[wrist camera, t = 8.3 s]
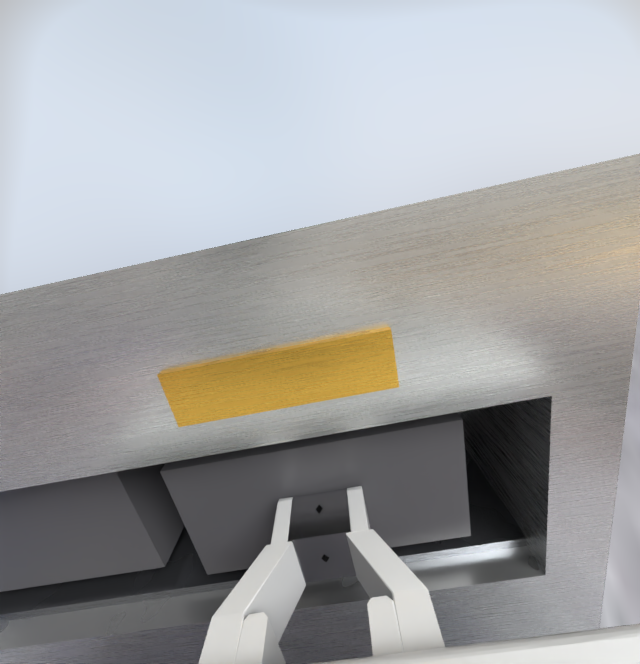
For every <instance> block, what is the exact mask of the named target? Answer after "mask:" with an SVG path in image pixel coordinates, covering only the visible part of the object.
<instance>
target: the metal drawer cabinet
mask: <svg viewBox="0 0 640 664" xmlns="http://www.w3.org/2000/svg"><path fill="white" fill-rule="evenodd" d="M639 304H640V154H636V155H632V156H627V157H623V158H619V159H614V160H609V161H605V162H600V163H596V164H591V165H586V166H582V167H577V168H573V169H569V170H564V171H559V172H555V173H550V174H546V175H541V176H536V177H532V178H527V179H523V180H518V181H514V182H509V183H505V184H500V185H496V186H491V187H486V188H482V189H477V190H473V191H468V192H464V193H459V194H455V195H451V196H446V197H441V198H437V199H432V200H427V201H423V202H418V203H414V204H409V205H405V206H401V207H396V208H392V209H387V210H382V211H378V212H373V213H369V214H364V215H359V216H355V217H351V218H346V219H341V220H337V221H333V222H328V223H323V224H319V225H314V226H310V227H305V228H300V229H297V230H291V231H287V232H283V233H278V234H273V235H269V236H264V237H260V238H255V239H250V240H246V241H241V242H237V243H232V244H228V245H223V246H219V247H214V248H210V249H205V250H201V251H196V252H192V253H187V254H182V255H178V256H174V257H169V258H164V259H160V260H155V261H151V262H146V263H142V264H138V265H132V266H128V267H123V268H119V269H115V270H110V271H105V272H101V273H96V274H92V275H87V276H83V277H78V278H73V279H69V280H64V281H60V282H55V283H51V284H46V285H42V286H37V287H33V288H28V289H24V290H19V291H14V292H11V293H5V294H1V295H0V492H3V491H8V490H14V489H20V488H26V487H31V486H37V485H43V484H49V483H54V482H60V481H66V480H71V479H77V478H83V477H89V476H94V475H100V474H106V473H112V472H117V471H123V470H129V469H135V468H140V467H146V466H152V465H157V464H163V463H169V462H175V461H180V460H186V459H192V458H198V457H203V456H209V455H215V454H221V453H226V452H232V451H238V450H244V449H249V448H255V447H261V446H266V445H272V444H278V443H284V442H289V441H295V440H301V439H307V438H312V437H318V436H324V435H330V434H335V433H341V432H347V431H353V430H358V429H364V428H370V427H375V426H381V425H387V424H393V423H398V422H404V421H410V420H416V419H421V418H427V417H433V416H439V415H444V414H450V413H456V412H457V413H458V414H459V415H460V417H461V418H462V419H463V430H464V444H465V458H466V473H467V487H468V501H469V515H470V529H471V536H466V537H460V538H453V539H446V540H439V541H432V542H426V543H419V544H412V545H405V546H399V547H392V548H391V549H392V550H393V551H394V552H395V554H396V555H397V556H398V557H399V558H400V559H401V560H402V561H403V562H404V563H405V564H406V566H407V567H408V568H409V569H410V570H411V571H412V572H413V573H414V574H415V575H416V576H417V578H418V579H419V580H420V581H421V582H422V583H423V584H424V585H425V586H426V587H427V589H428V591H429V595H430V598H431V601H432V605H433V608H434V611H435V615H436V618H437V621H438V625H439V628H440V631H441V634H442V638H443V641H444V644H445V647H453V646H461V645H470V644H478V643H486V642H494V641H502V640H511V639H519V638H527V637H535V636H543V635H551V634H560V633H568V632H576V631H584V630H592V629H599V628H600V620H601V612H602V604H603V595H604V587H605V579H606V571H607V563H608V555H609V547H610V539H611V531H612V523H613V514H614V506H615V498H616V490H617V482H618V474H619V466H620V458H621V450H622V442H623V433H624V425H625V417H626V409H627V401H628V393H629V385H630V377H631V369H632V361H633V352H634V344H635V336H636V328H637V320H638V312H639ZM247 570H248V569H243V570H236V571H230V572H223V573H216V574H209V575H207V573H206V571H205V569H204V566H203V564H202V562H201V560H200V558H199V555H198V553H197V551H196V549H195V547H194V545H193V542H192V540H191V538H190V536H189V534H188V532H187V529H186V527H185V526H184V528H183V530H182V532H181V534H180V536H179V538H178V541H177V543H176V545H175V547H174V549H173V551H172V553H171V556H170V558H169V560H168V562H167V564H166V566H165V567H162V568H156V569H149V570H142V571H136V572H129V573H123V574H116V575H109V576H103V577H96V578H89V579H83V580H76V581H70V582H63V583H56V584H50V585H43V586H36V587H30V588H23V589H17V590H10V591H3V592H0V664H198V663H199V660H200V656H201V653H202V650H203V646H204V643H205V639H206V636H207V632H208V629H209V625H210V622H211V618H212V616H213V615H214V614H215V612H216V611H217V610H218V608H219V607H220V606H221V604H222V603H223V602H224V601H225V599H226V598H227V597H228V595H229V594H230V593H231V591H232V590H233V589H234V587H235V586H236V585H237V583H238V582H239V581H240V579H241V578H242V577H243V575H244V574H245V573H246V571H247ZM369 600H370V597H369V596H368V594H367V593H366V591H365V590H364V588H363V586H362V585H361V583H360V582H359V580H358V579H357V577H356V576H352V577H343V578H333V579H327V580H321V581H315V582H309V583H306V586H305V588H304V591H303V593H302V595H301V597H300V599H299V601H298V603H297V605H296V607H295V609H294V611H293V614H292V616H291V618H290V620H289V622H288V624H287V626H286V628H285V630H284V632H283V634H282V637H281V639H280V641H279V643H278V644H279V647H280V649H281V652H282V654H283V657H284V660H285V662H286V664H313V663H321V662H330V661H338V660H346V659H355V658H363V657H371V656H373V652H372V642H371V633H370V624H369V615H368V606H367V604H368V602H369Z"/></svg>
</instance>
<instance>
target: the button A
mask: <svg viewBox="0 0 640 664" xmlns="http://www.w3.org/2000/svg"><path fill="white" fill-rule="evenodd" d="M165 464H166V463H163V464H157V465H152V466H146V467H140V468H135V469H129V470H123V471H117V472H112V473H106V474H100V475H94V476H89V477H83V478H77V479H71V480H66V481H60V482H54V483H49V484H43V485H37V486H31V487H26V488H20V489H14V490H8V491H3V492H0V592H3V591H10V590H17V589H23V588H30V587H36V586H43V585H50V584H56V583H63V582H70V581H76V580H83V579H89V578H96V577H103V576H109V575H116V574H123V573H129V572H136V571H142V570H149V569H156V568H162V567H165V566H166V564H167V562H168V560H169V558H170V556H171V553H172V551H173V549H174V547H175V545H176V543H177V541H178V538H179V536H180V534H181V532H182V530H183V528H184V526H185V525H184V523H183V521H182V519H181V516H180V514H179V512H178V510H177V508H176V506H175V503H174V501H173V499H172V497H171V495H170V493H169V490H168V488H167V486H166V484H165V482H164V480H163V477H162V475H161V473H160V471H161V469H162V468H163V466H164V465H165Z"/></svg>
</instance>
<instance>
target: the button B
mask: <svg viewBox="0 0 640 664" xmlns="http://www.w3.org/2000/svg"><path fill="white" fill-rule="evenodd" d="M160 473H161V475H162V477H163V480H164V482H165V484H166V486H167V488H168V490H169V493H170V495H171V497H172V499H173V501H174V503H175V506H176V508H177V510H178V512H179V514H180V516H181V519H182V521H183V523H184V525H185V527H186V529H187V532H188V534H189V536H190V538H191V540H192V542H193V545H194V547H195V549H196V551H197V553H198V555H199V558H200V560H201V562H202V564H203V566H204V569H205V571H206V573H207V575H209V574H216V573H223V572H230V571H236V570H243V569H249V567H250V566H251V565H252V563H253V562H254V561H255V559H256V558H257V557H258V555H259V554H260V553H261V551H262V550H263V549H264V547H265V546H266V545H270V544H271V538H272V532H273V526H274V520H275V514H276V508H277V503H278V501H279V499H282V498H289V497H295V496H302V495H310V494H317V493H322V492H328V491H334V490H340V489H345V488H351V487H357V486H362V490H363V495H364V500H365V505H366V509H367V514H368V519H369V524H370V529H373V530H374V531H375V532H376V533H377V534H378V535H379V536H380V537H381V538H382V539H383V540H384V542H385V543H386V544H387V545H388V546H389V547H390V548H392V547H399V546H405V545H412V544H419V543H426V542H432V541H439V540H446V539H453V538H460V537H466V536H471V529H470V515H469V501H468V487H467V473H466V458H465V444H464V430H463V419H462V418H461V417H460V415H459V414H458V413H457V412H456V413H450V414H444V415H439V416H433V417H427V418H421V419H416V420H410V421H404V422H398V423H393V424H387V425H381V426H375V427H370V428H364V429H358V430H353V431H347V432H341V433H335V434H330V435H324V436H318V437H312V438H307V439H301V440H295V441H289V442H284V443H278V444H272V445H266V446H261V447H255V448H249V449H244V450H238V451H232V452H226V453H221V454H215V455H209V456H203V457H198V458H192V459H186V460H180V461H175V462H169V463H166V464H165V465H164V466H163V468H162V469H161V471H160Z"/></svg>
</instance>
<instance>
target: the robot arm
mask: <svg viewBox="0 0 640 664" xmlns="http://www.w3.org/2000/svg"><path fill="white" fill-rule="evenodd" d="M352 576H356V577H357V579H358V580H359V582H360V583H361V585H362V586H363V588H364V590H365V591H366V593H367V594H368V596H369V597H370V600H369V602H368V604H367V606H368V615H369V624H370V633H371V642H372V652H373V656H371V657H363V658H355V659H346V660H338V661H330V662H321V663H313V664H640V624H633V625H625V626H616V627H608V628H600V629H592V630H584V631H576V632H568V633H560V634H551V635H543V636H535V637H527V638H519V639H511V640H502V641H494V642H486V643H478V644H470V645H461V646H453V647H445V644H444V641H443V638H442V634H441V631H440V628H439V625H438V621H437V618H436V615H435V611H434V608H433V605H432V601H431V598H430V595H429V591H428V589H427V587H426V586H425V585H424V584H423V583H422V582H421V581H420V580H419V579H418V578H417V576H416V575H415V574H414V573H413V572H412V571H411V570H410V569H409V568H408V567H407V566H406V564H405V563H404V562H403V561H402V560H401V559H400V558H399V557H398V556H397V555H396V554H395V552H394V551H393V550H392V549H391V548H390V547H389V546H388V545H387V544H386V543H385V542H384V540H383V539H382V538H381V537H380V536H379V535H378V534H377V533H376V532H375V531H374V530H373V529H370V524H369V519H368V514H367V509H366V505H365V500H364V495H363V490H362V486H357V487H351V488H345V489H340V490H334V491H328V492H322V493H317V494H310V495H302V496H295V497H289V498H282V499H279V501H278V503H277V508H276V514H275V520H274V526H273V532H272V538H271V544H270V545H266V546H265V547H264V549H263V550H262V551H261V553H260V554H259V555H258V557H257V558H256V559H255V561H254V562H253V563H252V565H251V566H250V567H249V569H248V570H247V571H246V573H245V574H244V575H243V577H242V578H241V579H240V581H239V582H238V583H237V585H236V586H235V587H234V589H233V590H232V591H231V593H230V594H229V595H228V597H227V598H226V599H225V601H224V602H223V603H222V604H221V606H220V607H219V608H218V610H217V611H216V612H215V614H214V615H213V616H212V618H211V622H210V625H209V629H208V632H207V636H206V639H205V643H204V646H203V650H202V653H201V656H200V660H199V663H198V664H286V662H285V660H284V657H283V654H282V652H281V649H280V647H279V644H278V643H279V641H280V639H281V637H282V634H283V632H284V630H285V628H286V626H287V624H288V622H289V620H290V618H291V616H292V614H293V611H294V609H295V607H296V605H297V603H298V601H299V599H300V597H301V595H302V593H303V591H304V588H305V586H306V583H309V582H315V581H321V580H327V579H333V578H343V577H352Z"/></svg>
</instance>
